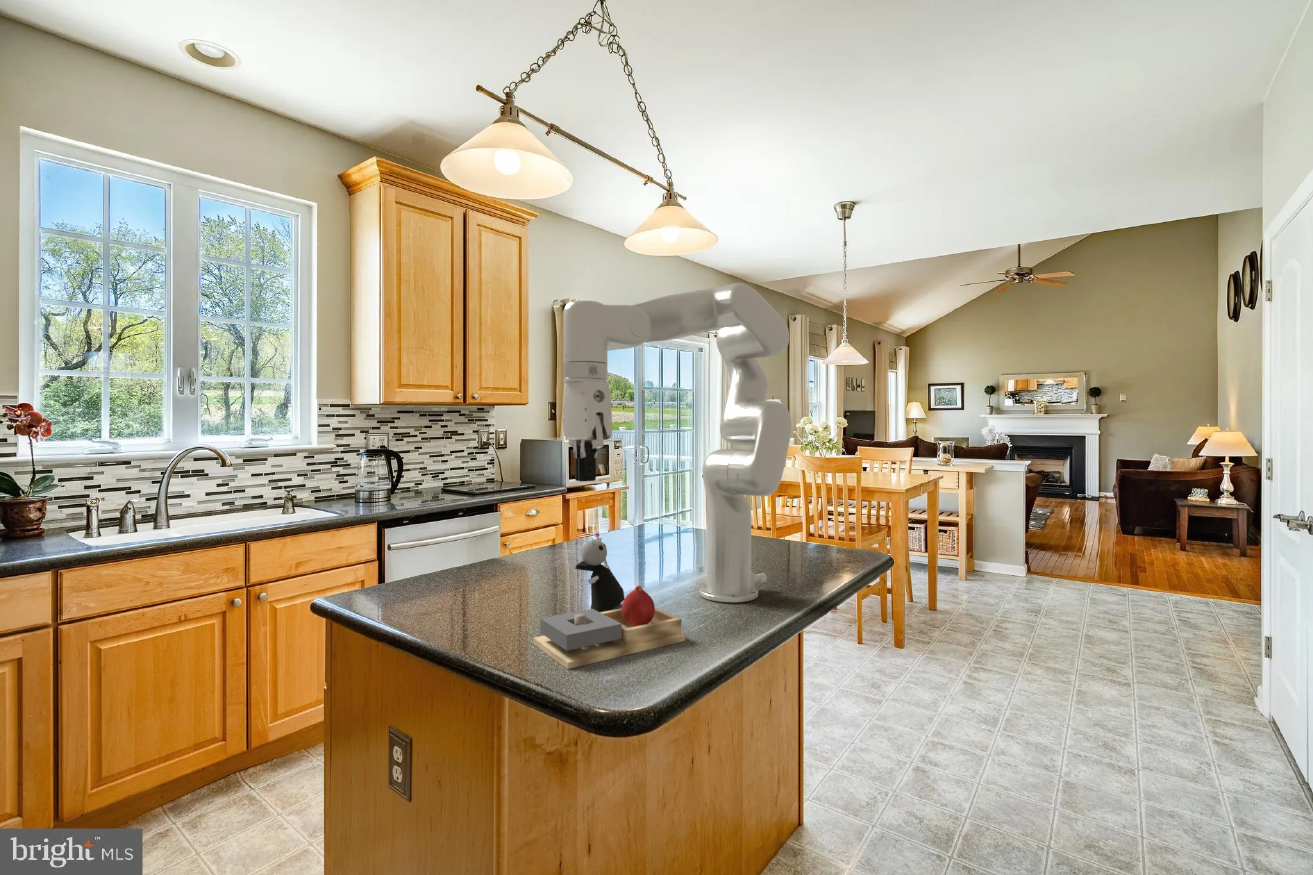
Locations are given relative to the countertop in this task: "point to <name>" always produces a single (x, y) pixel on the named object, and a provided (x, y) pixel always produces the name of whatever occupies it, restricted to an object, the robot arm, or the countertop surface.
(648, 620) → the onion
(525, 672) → the countertop surface
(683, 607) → the countertop surface
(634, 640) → the wooden tray
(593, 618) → the gray holed slab
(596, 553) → the toy
